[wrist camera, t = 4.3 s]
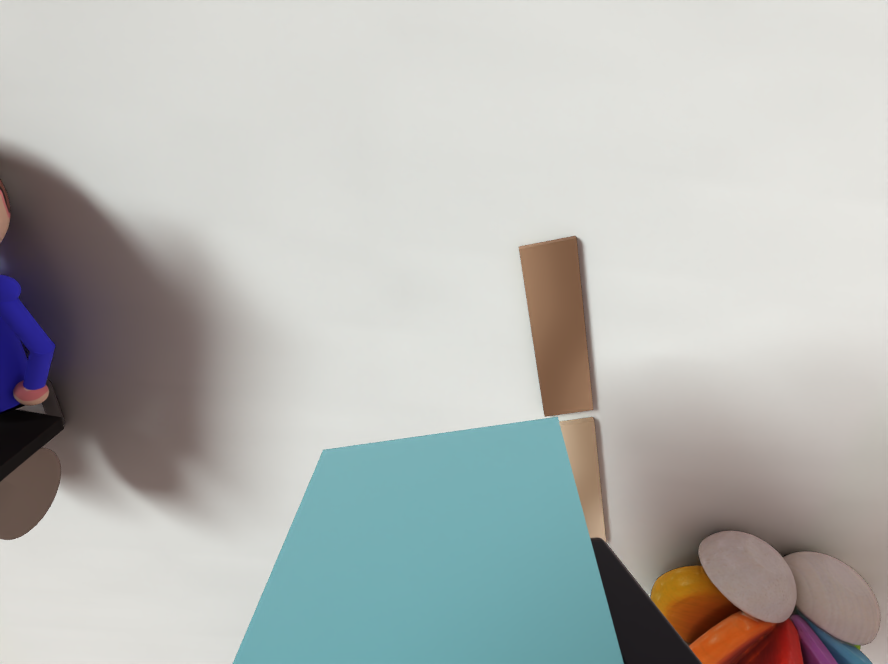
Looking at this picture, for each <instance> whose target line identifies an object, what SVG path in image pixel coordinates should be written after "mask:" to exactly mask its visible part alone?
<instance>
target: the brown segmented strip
mask: <svg viewBox="0 0 888 664" xmlns="http://www.w3.org/2000/svg"><path fill="white" fill-rule="evenodd" d="M519 252H520V258H521V265H522V271H523V278H524V285H525V291H526V298H527V304H528V311H529V318H530V324H531V331H532V337H533V344H534V350H535V357H536V364H537V370H538V377H539V383H540V390H541V397H542V403H543V410H544V415H545V417H546V416H553V415H560V414H567V413H574V412H581V411H588V410H593V402H592V392H591V382H590V371H589V361H588V351H587V340H586V330H585V320H584V310H583V299H582V289H581V279H580V268H579V258H578V248H577V238H576V237H575V236H571V237H566V238H561V239H556V240H551V241H546V242H540V243H535V244H530V245H525V246H520V247H519ZM559 424H560V427H561V431H562V435H563V438H564V442H565V446H566V450H567V453H568V457H569V461H570V465H571V468H572V472H573V476H574V480H575V483H576V487H577V491H578V494H579V498H580V502H581V506H582V509H583V513H584V517H585V521H586V524H587V528H588V532H589V536H590V538H595V537H600V538H602V539H603V540H604V541H605V542H606V536H605V526H604V516H603V505H602V495H601V485H600V474H599V464H598V454H597V443H596V433H595V423H594V419H593V417H589V418H582V419H575V420H568V421H561V422H559Z"/></svg>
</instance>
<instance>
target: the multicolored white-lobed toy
mask: <svg viewBox="0 0 888 664" xmlns="http://www.w3.org/2000/svg"><path fill="white" fill-rule="evenodd" d="M698 553H699V559H700V562H701V564H702V566H698V565H697V566H685V567H680V568H677V569H673V570H671V571H668V572H666V573H665V574H663V575H662V576H660V577H659V578H658V579H657V580H656V582H655V583H654V585H653V588H652V591H651V600H652V601H653V602H654V603H655V605H656V606H657V607H658V609H659V610H660V611H661V612H662V614H663V615H664V616H665V617H666V619H667V620H668V621H669V622H670V624H671V625H672V626H673V627H674V629H675V630H676V631H677V632H678V634H679V635H680V636H681V637H682V639H683V640H684V641H685V642H686V644H687V645H688V646H689V647H690V649H691V650H692V651H693V652H694V654H695V655H696V656H697V658H698V659H699V660H700V661H701V663H702V664H872V663H871V661H870V660H869V659H868V658H867V657H866V656H865V655H864V654H863V653H862V652H861V651H860V645H866V644H868V643H870V642H871V641H872V640H873V639H874V638H875V637H876V635H877V632H878V630H879V626H880V610H879V605H878V602H877V600H876V597H875V595H874V593H873V591H872V590H871V588H870V587H869V585H868V584H867V583H866V581H865V580H864V579H863V578H862V577H861V576H860V575H859V574H858V573H857V572H856V571H854V570H853V569H852V568H851V567H849V566H848V565H846V564H845V563H843V562H842V561H840V560H838V559H836V558H834V557H831V556H829V555H826V554H822V553H818V552H810V551H802V552H795V553H791V554H789V555H786V556H784V557H782V556H781V555H780V554H779V553H778V552H777V551H776V550H775V549H774V548H773V547H772V546H770V545H769V544H768V543H766V542H765V541H763V540H761V539H760V538H758V537H756V536H754V535H751V534H748V533H745V532H740V531H722V532H717V533H714V534H712V535H710V536H708V537H706V538H705V539H704V540H703V541H702V542H701V543H700V545H699V551H698Z"/></svg>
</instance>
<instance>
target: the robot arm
mask: <svg viewBox="0 0 888 664" xmlns="http://www.w3.org/2000/svg"><path fill="white" fill-rule="evenodd" d="M590 539H591V543H592V547H593V551H594V554H595V558H596V562H597V565H598V569H599V573H600V577H601V580H602V584H603V588H604V592H605V595H606V599H607V603H608V607H609V610H610V614H611V618H612V621H613V625H614V629H615V633H616V636H617V640H618V644H619V648H620V651H621V655H622V659H623V663H624V664H702V663H701V661H700V660H699V659H698V658H697V656H696V655H695V654H694V652H693V651H692V650H691V649H690V647H689V646H688V645H687V644H686V642H685V641H684V640H683V639H682V637H681V636H680V635H679V634H678V632H677V631H676V630H675V629H674V627H673V626H672V625H671V624H670V622H669V621H668V620H667V619H666V617H665V616H664V615H663V614H662V612H661V611H660V610H659V609H658V607H657V606H656V605H655V603H654V602H653V601H652V600H651V598H650V597H649V596H648V595H647V593H646V592H645V591H644V590H643V588H642V587H641V586H640V585H639V583H638V582H637V581H636V580H635V578H634V577H633V576H632V575H631V573H630V572H629V571H628V570H627V568H626V567H625V566H624V565H623V563H622V562H621V561H620V560H619V558H618V557H617V556H616V554H615V553H614V552H613V551H612V549H611V548H610V547H609V546H608V544H607V543H606V542H605V541H604V540H603V539H602V538H600V537H595V538H590Z"/></svg>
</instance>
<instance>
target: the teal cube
mask: <svg viewBox="0 0 888 664" xmlns="http://www.w3.org/2000/svg"><path fill="white" fill-rule="evenodd" d="M233 664H624V663H623V659H622V655H621V651H620V648H619V644H618V640H617V636H616V633H615V629H614V625H613V621H612V618H611V614H610V610H609V607H608V603H607V599H606V595H605V592H604V588H603V584H602V580H601V577H600V573H599V569H598V565H597V562H596V558H595V554H594V551H593V547H592V543H591V539H590V536H589V532H588V528H587V524H586V521H585V517H584V513H583V509H582V506H581V502H580V498H579V494H578V491H577V487H576V483H575V480H574V476H573V472H572V468H571V465H570V461H569V457H568V453H567V450H566V446H565V442H564V438H563V435H562V431H561V427H560V424H559V420H558V417H553V418H545V419H538V420H531V421H524V422H517V423H510V424H503V425H496V426H489V427H482V428H475V429H468V430H461V431H453V432H446V433H439V434H432V435H425V436H418V437H411V438H404V439H397V440H390V441H383V442H376V443H368V444H361V445H354V446H347V447H340V448H333V449H326V450H323V452H322V454H321V457H320V459H319V461H318V464H317V466H316V468H315V471H314V473H313V475H312V478H311V480H310V483H309V485H308V487H307V490H306V492H305V494H304V497H303V499H302V501H301V504H300V506H299V508H298V511H297V513H296V516H295V518H294V520H293V523H292V525H291V527H290V530H289V532H288V534H287V537H286V539H285V542H284V544H283V546H282V549H281V551H280V553H279V556H278V558H277V560H276V563H275V565H274V568H273V570H272V572H271V575H270V577H269V579H268V582H267V584H266V586H265V589H264V591H263V594H262V596H261V598H260V601H259V603H258V605H257V608H256V610H255V612H254V615H253V617H252V619H251V622H250V624H249V627H248V629H247V631H246V634H245V636H244V638H243V641H242V643H241V645H240V648H239V650H238V653H237V655H236V657H235V660H234V662H233Z"/></svg>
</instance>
